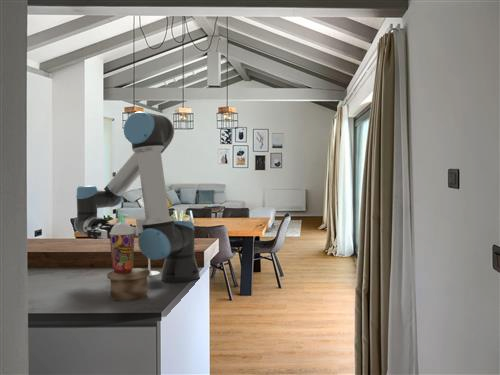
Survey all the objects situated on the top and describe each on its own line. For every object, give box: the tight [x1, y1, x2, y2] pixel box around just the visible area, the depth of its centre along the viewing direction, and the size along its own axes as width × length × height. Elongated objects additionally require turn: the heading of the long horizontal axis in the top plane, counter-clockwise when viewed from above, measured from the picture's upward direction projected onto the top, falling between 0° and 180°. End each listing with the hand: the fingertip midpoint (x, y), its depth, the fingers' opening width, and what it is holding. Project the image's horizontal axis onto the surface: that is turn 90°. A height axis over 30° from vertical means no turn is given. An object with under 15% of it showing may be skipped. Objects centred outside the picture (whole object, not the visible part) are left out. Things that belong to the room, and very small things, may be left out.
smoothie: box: [108, 213, 135, 273], centre depth 154 cm, size 8×8×20 cm
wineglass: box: [135, 217, 161, 277], centre depth 187 cm, size 9×10×23 cm
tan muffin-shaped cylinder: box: [106, 267, 151, 302], centre depth 153 cm, size 14×14×8 cm
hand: (122, 233), depth 153 cm, fingers open, 11 cm apart
